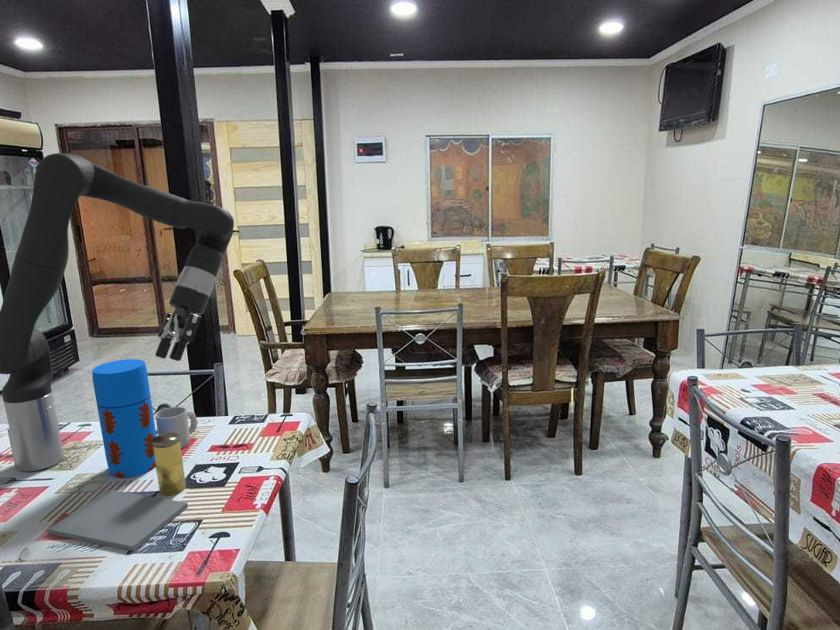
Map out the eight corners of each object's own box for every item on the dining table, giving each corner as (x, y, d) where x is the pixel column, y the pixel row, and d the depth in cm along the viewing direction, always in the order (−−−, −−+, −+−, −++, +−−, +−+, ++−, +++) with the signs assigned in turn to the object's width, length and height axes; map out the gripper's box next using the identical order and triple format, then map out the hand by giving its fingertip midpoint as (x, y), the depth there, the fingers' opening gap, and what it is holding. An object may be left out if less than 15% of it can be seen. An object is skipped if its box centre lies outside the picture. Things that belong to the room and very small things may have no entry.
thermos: (138, 480, 117) (121, 375, 111) (97, 476, 119) (79, 373, 113) (170, 457, 127) (156, 359, 122) (132, 453, 129) (116, 357, 124)
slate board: (48, 533, 99) (47, 529, 98) (109, 493, 112) (109, 489, 111) (134, 551, 93) (133, 546, 93) (187, 507, 106) (187, 502, 106)
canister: (153, 493, 111) (145, 442, 109) (171, 480, 116) (164, 431, 114) (174, 497, 110) (167, 445, 107) (191, 484, 115) (185, 434, 112)
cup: (154, 446, 133) (149, 413, 131) (191, 432, 141) (187, 401, 139) (168, 454, 129) (164, 420, 127) (206, 439, 136) (202, 407, 134)
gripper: (165, 285, 120) (138, 351, 116) (190, 282, 111) (162, 355, 107) (195, 297, 126) (171, 361, 122) (222, 295, 116) (196, 365, 112)
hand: (167, 358), depth 114 cm, fingers open, 8 cm apart
